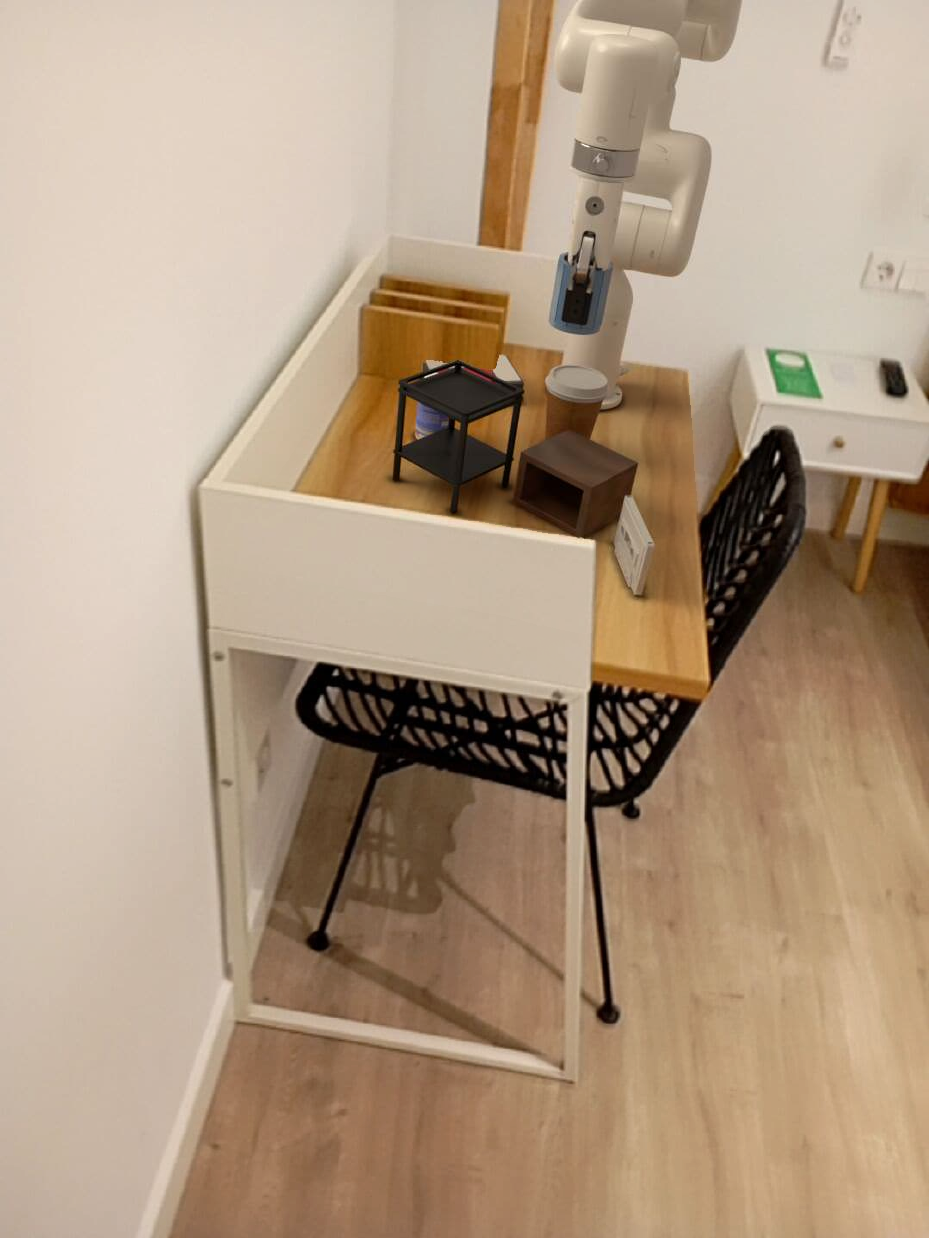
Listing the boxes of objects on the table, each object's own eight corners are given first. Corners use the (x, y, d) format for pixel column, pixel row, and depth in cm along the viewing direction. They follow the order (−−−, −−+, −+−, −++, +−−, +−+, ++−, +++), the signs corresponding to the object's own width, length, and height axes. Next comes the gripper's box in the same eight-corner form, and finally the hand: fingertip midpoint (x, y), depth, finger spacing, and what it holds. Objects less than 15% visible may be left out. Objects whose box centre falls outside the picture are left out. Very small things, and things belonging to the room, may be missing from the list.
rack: (447, 454, 151) (458, 359, 142) (509, 487, 145) (524, 390, 136) (390, 479, 143) (398, 380, 134) (453, 515, 137) (466, 414, 128)
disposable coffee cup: (554, 429, 161) (567, 357, 154) (606, 450, 158) (622, 378, 150) (522, 448, 155) (534, 375, 148) (575, 471, 151) (590, 396, 144)
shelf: (559, 478, 149) (568, 429, 144) (626, 512, 143) (638, 462, 138) (512, 502, 142) (520, 451, 137) (581, 539, 136) (592, 487, 131)
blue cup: (568, 310, 131) (579, 248, 126) (610, 327, 128) (623, 264, 123) (538, 321, 127) (548, 257, 122) (580, 339, 124) (593, 274, 119)
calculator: (421, 354, 170) (507, 351, 173) (420, 378, 172) (505, 374, 176) (435, 383, 161) (525, 378, 165) (433, 407, 164) (522, 403, 167)
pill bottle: (445, 449, 152) (452, 389, 146) (410, 442, 153) (416, 382, 147) (453, 433, 156) (460, 374, 150) (419, 426, 157) (424, 367, 151)
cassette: (609, 543, 136) (621, 494, 131) (623, 543, 136) (635, 494, 132) (630, 596, 127) (644, 545, 122) (645, 596, 127) (659, 545, 122)
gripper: (633, 184, 108) (601, 343, 119) (640, 149, 122) (611, 295, 133) (564, 172, 109) (538, 332, 120) (578, 139, 123) (554, 285, 133)
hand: (576, 311), depth 126 cm, fingers closed on blue cup, 6 cm apart
